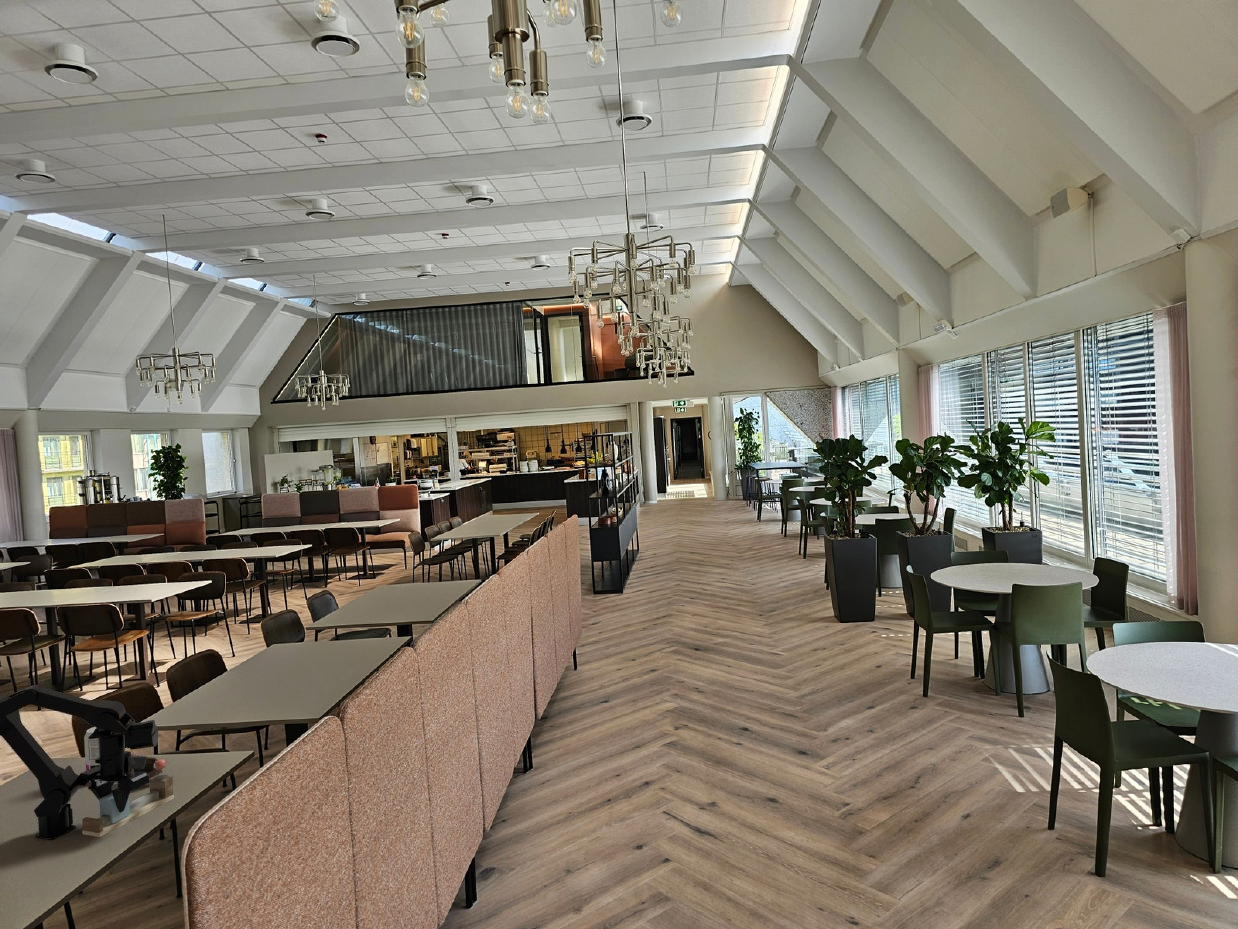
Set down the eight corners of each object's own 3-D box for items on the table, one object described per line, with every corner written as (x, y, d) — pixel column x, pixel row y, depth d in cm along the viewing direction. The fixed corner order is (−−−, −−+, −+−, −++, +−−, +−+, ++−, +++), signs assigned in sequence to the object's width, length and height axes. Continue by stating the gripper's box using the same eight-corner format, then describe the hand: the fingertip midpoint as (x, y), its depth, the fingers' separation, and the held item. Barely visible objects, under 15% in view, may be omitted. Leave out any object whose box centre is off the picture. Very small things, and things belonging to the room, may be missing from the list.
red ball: (159, 770, 213) (159, 763, 213) (153, 769, 214) (152, 762, 214) (167, 766, 216) (166, 759, 216) (160, 765, 216) (160, 758, 216)
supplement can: (79, 782, 229) (77, 732, 228) (105, 771, 237) (103, 722, 236) (100, 785, 226) (97, 734, 226) (126, 773, 234) (123, 724, 234)
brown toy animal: (170, 775, 233) (169, 756, 229) (152, 801, 225) (150, 782, 221) (130, 767, 232) (128, 748, 229) (110, 793, 224) (108, 774, 220)
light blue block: (112, 823, 199) (111, 800, 199) (100, 821, 200) (99, 799, 200) (130, 814, 204) (129, 792, 203) (118, 812, 205) (117, 790, 205)
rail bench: (100, 837, 194) (98, 813, 194) (82, 834, 196) (81, 810, 196) (175, 797, 216) (174, 775, 216) (159, 795, 218) (158, 773, 218)
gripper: (166, 743, 206) (169, 800, 207) (114, 737, 212) (117, 793, 212) (128, 760, 196) (131, 820, 196) (74, 753, 201) (77, 812, 202)
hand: (115, 811), depth 202 cm, fingers closed on light blue block, 4 cm apart
